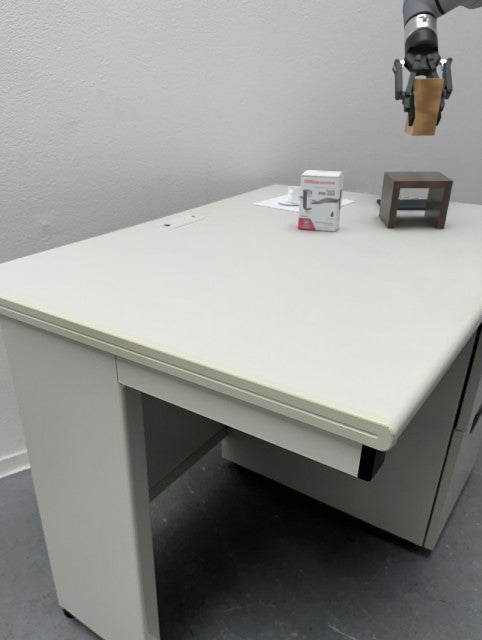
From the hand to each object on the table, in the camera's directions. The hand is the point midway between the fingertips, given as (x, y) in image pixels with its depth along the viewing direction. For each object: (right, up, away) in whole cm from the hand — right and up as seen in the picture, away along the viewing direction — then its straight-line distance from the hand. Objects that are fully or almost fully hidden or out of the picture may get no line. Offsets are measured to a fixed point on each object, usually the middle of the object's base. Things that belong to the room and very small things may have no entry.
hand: (424, 121), depth 126 cm
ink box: (-26, -26, -4) cm, 37 cm away
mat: (+1, -15, +13) cm, 20 cm away
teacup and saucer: (-24, -13, +19) cm, 34 cm away
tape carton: (+1, -1, +5) cm, 5 cm away
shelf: (-4, -24, -2) cm, 24 cm away
